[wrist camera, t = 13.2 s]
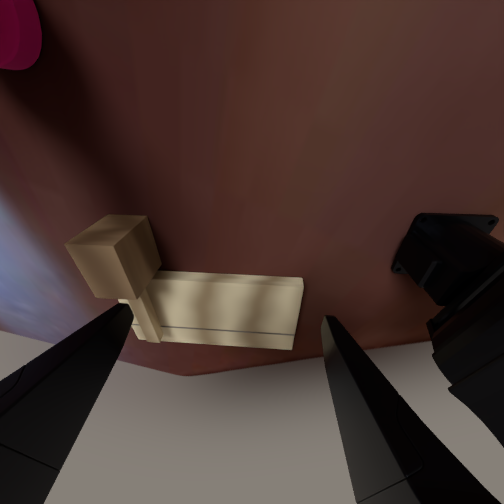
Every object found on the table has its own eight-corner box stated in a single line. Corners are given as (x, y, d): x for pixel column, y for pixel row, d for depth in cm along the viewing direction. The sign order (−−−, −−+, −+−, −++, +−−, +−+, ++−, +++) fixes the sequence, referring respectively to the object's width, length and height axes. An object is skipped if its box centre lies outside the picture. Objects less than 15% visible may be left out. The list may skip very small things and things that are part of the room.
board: (302, 277, 24) (304, 287, 22) (290, 340, 31) (291, 350, 29) (114, 268, 25) (105, 277, 24) (143, 330, 32) (138, 339, 31)
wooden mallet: (147, 215, 21) (113, 246, 16) (178, 319, 30) (162, 357, 25) (108, 214, 21) (64, 244, 16) (151, 318, 30) (130, 355, 26)
